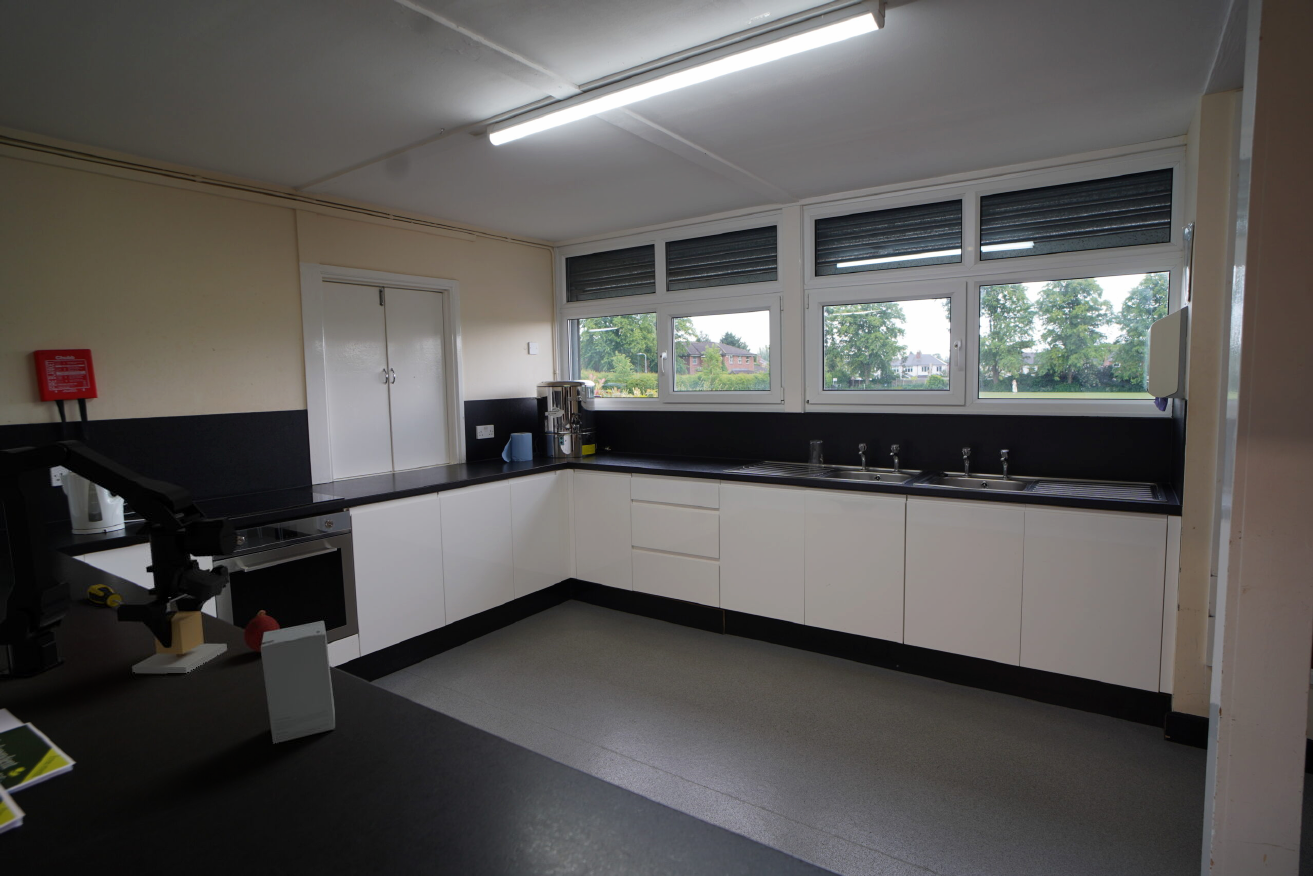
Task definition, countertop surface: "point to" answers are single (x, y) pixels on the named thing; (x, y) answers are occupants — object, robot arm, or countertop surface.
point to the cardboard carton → (183, 633)
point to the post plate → (180, 660)
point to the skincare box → (298, 681)
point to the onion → (259, 630)
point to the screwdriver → (104, 595)
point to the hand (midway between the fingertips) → (179, 641)
